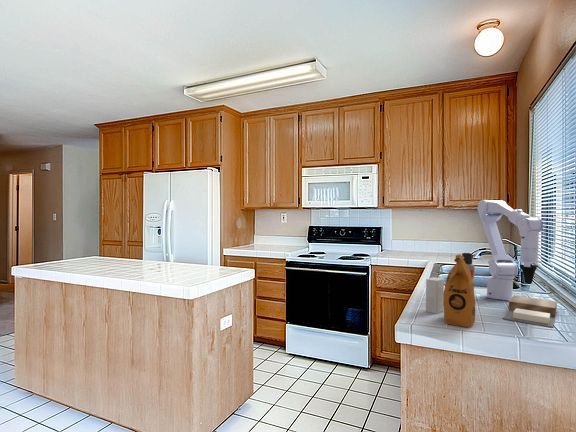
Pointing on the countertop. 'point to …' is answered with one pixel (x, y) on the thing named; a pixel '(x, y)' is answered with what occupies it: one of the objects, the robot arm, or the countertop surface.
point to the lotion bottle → (469, 264)
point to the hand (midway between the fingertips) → (528, 283)
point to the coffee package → (459, 295)
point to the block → (531, 315)
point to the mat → (510, 317)
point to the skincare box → (434, 295)
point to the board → (533, 305)
